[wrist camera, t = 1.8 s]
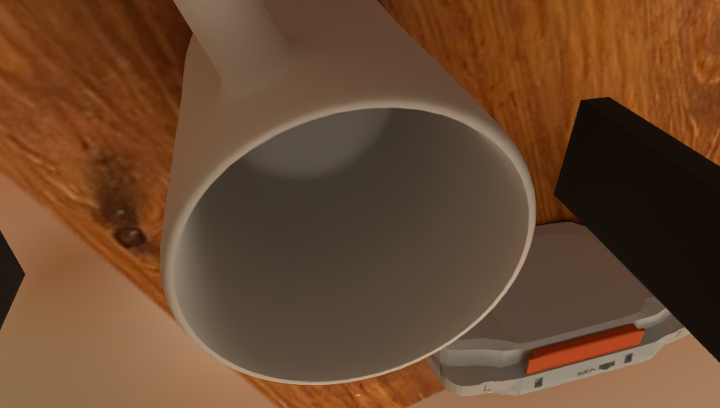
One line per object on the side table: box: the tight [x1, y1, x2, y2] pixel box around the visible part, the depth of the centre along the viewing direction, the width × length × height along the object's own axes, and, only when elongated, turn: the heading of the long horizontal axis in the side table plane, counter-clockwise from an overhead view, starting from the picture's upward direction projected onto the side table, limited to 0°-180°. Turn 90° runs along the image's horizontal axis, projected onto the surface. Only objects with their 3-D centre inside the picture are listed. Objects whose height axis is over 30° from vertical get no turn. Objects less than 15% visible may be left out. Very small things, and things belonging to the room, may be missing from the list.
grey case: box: [425, 222, 690, 396], centre depth 25 cm, size 14×3×8 cm, turn 94°
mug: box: [160, 0, 536, 385], centre depth 14 cm, size 12×8×11 cm
